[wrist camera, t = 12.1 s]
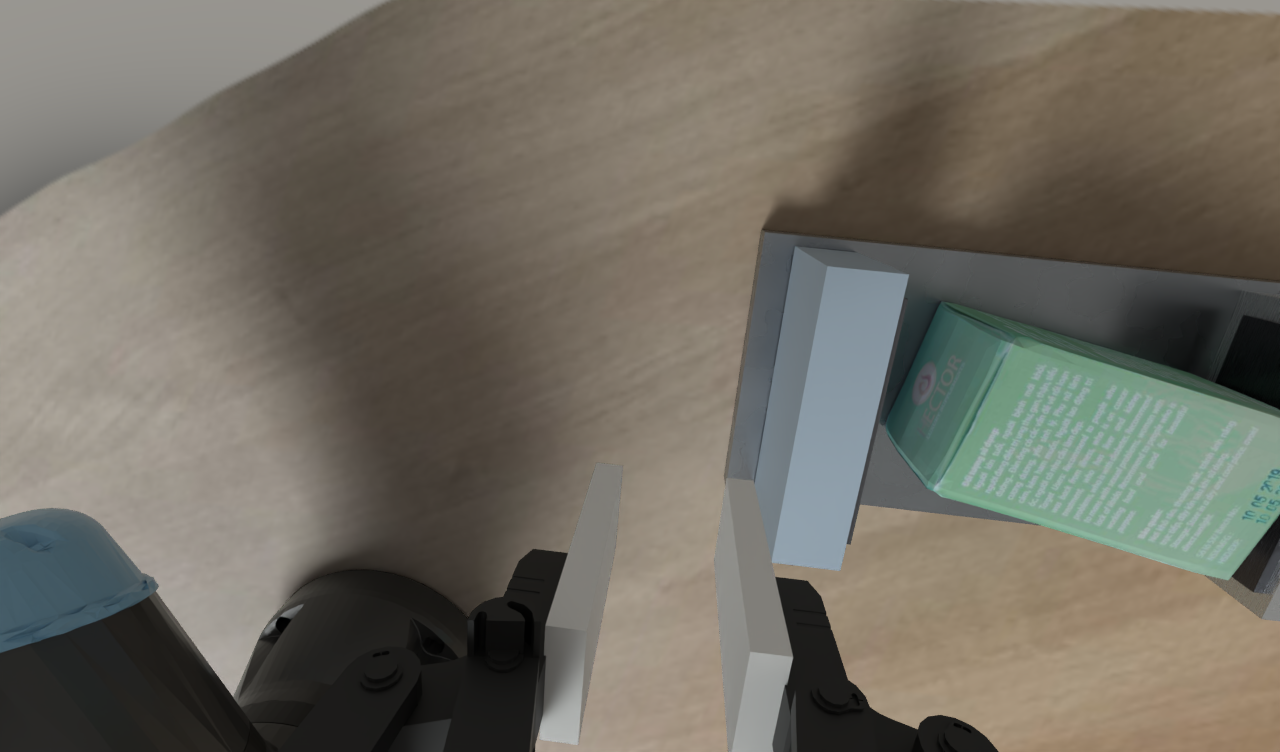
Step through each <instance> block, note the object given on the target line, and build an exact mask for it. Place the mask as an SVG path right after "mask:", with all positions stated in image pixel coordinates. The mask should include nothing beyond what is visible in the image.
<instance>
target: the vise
mask: <svg viewBox="0 0 1280 752" xmlns="http://www.w3.org/2000/svg"><path fill="white" fill-rule="evenodd" d="M795 246H798V247H808V248H818V249H828V250H838V251H848V252H858V253H860V254H862V255H865V256H867V257H869V258H872V259H874V260H876V261H879V262H881V263H883V264H886V265H888V266H890V267H893V268H895V269H897V270H900V271H902V272H904V273H907V274H909V277H908V282H907V286H906V290H905V294H904V297H905V298H907V299H908V302H907V306H906V310H905V315H904V319H903V323H902V327H901V332H900V336H899V340H898V344H897V349H896V353H895V357H894V361H893V366H892V370H891V374H890V378H889V383H888V387H887V391H886V395H885V400H884V404H883V408H882V412H881V417H880V421H879V425H878V429H877V434H876V438H875V442H874V446H873V451H872V455H871V459H870V463H869V468H868V472H867V476H866V480H865V485H864V489H863V493H862V497H861V502H860V504H862V505H870V506H879V507H887V508H896V509H905V510H913V511H922V512H930V513H939V514H948V515H956V516H965V517H973V518H982V519H990V520H999V521H1008V522H1016V523H1025V524H1033V525H1039V524H1036V523H1032V522H1029V521H1025V520H1022V519H1019V518H1015V517H1012V516H1008V515H1005V514H1002V513H998V512H995V511H991V510H988V509H984V508H981V507H977V506H974V505H970V504H967V503H963V502H960V501H956V500H952V499H948V498H944V497H941V496H940V495H938V494H937V493H936V492H934V491H932V490H929V489H927V488H926V487H925V486H924V485H923V483H922V482H921V481H920V480H919V478H918V477H917V476H916V475H915V474H914V472H913V471H912V470H911V468H910V467H909V466H908V465H907V463H906V462H905V461H904V459H903V458H902V457H901V456H900V454H899V453H898V452H897V450H896V448H895V447H894V445H893V444H892V442H891V440H890V439H889V437H888V435H887V432H886V422H887V419H888V416H889V414H890V412H891V410H892V408H893V406H894V403H895V401H896V399H897V397H898V395H899V393H900V391H901V389H902V387H903V384H904V382H905V380H906V378H907V376H908V373H909V371H910V369H911V367H912V365H913V362H914V360H915V358H916V356H917V353H918V351H919V349H920V347H921V344H922V342H923V340H924V338H925V335H926V333H927V331H928V329H929V327H930V324H931V322H932V320H933V318H934V316H935V313H936V311H937V309H938V307H939V305H940V303H941V301H943V302H948V303H954V304H958V305H961V306H965V307H968V308H972V309H975V310H978V311H982V312H985V313H989V314H992V315H995V316H999V317H1002V318H1006V319H1009V320H1013V321H1016V322H1020V323H1023V324H1027V325H1030V326H1034V327H1037V328H1041V329H1044V330H1047V331H1051V332H1054V333H1057V334H1061V335H1064V336H1067V337H1071V338H1074V339H1078V340H1081V341H1084V342H1088V343H1091V344H1094V345H1098V346H1101V347H1104V348H1108V349H1111V350H1115V351H1118V352H1121V353H1125V354H1128V355H1131V356H1135V357H1138V358H1141V359H1145V360H1148V361H1151V362H1155V363H1158V364H1161V365H1165V366H1168V367H1172V368H1175V369H1178V370H1182V371H1185V372H1188V373H1191V374H1194V375H1196V376H1199V377H1201V378H1204V379H1206V380H1209V381H1211V382H1214V383H1216V384H1219V385H1221V386H1224V387H1226V388H1229V389H1231V390H1234V391H1236V392H1239V393H1241V394H1244V395H1246V396H1248V397H1251V398H1253V399H1256V400H1258V401H1260V402H1263V403H1265V404H1268V405H1270V406H1272V407H1275V408H1277V409H1279V410H1280V281H1274V280H1264V279H1254V278H1244V277H1234V276H1224V275H1214V274H1204V273H1193V272H1183V271H1173V270H1163V269H1153V268H1143V267H1133V266H1123V265H1113V264H1103V263H1092V262H1082V261H1072V260H1062V259H1052V258H1042V257H1032V256H1022V255H1012V254H1002V253H991V252H981V251H971V250H961V249H951V248H941V247H931V246H921V245H911V244H901V243H890V242H880V241H870V240H860V239H850V238H840V237H830V236H820V235H810V234H799V233H789V232H779V231H769V230H761V235H760V242H759V248H758V255H757V261H756V268H755V275H754V281H753V288H752V294H751V301H750V308H749V314H748V321H747V328H746V334H745V341H744V347H743V354H742V361H741V367H740V374H739V380H738V387H737V394H736V400H735V407H734V413H733V420H732V427H731V433H730V440H729V446H728V453H727V460H726V466H725V473H724V480H725V485H726V478H734V479H743V480H751V481H754V485H755V479H756V473H757V467H758V461H759V455H760V449H761V444H762V438H763V432H764V426H765V420H766V414H767V408H768V402H769V397H770V391H771V385H772V379H773V373H774V367H775V361H776V355H777V349H778V344H779V338H780V332H781V326H782V320H783V314H784V308H785V302H786V297H787V291H788V285H789V279H790V273H791V267H792V261H793V255H794V250H795ZM1205 576H1206V577H1207V578H1208V579H1210V580H1211V581H1212V582H1214V583H1215V584H1216V585H1218V586H1219V587H1220V588H1222V589H1223V590H1224V591H1225V592H1227V593H1228V594H1229V595H1231V596H1232V597H1233V598H1235V599H1236V600H1237V601H1239V602H1240V603H1241V604H1242V605H1244V606H1245V607H1246V608H1248V609H1249V610H1250V611H1252V612H1253V613H1254V614H1256V615H1257V616H1258V617H1259V618H1261V619H1265V620H1274V621H1280V515H1279V516H1278V518H1277V519H1276V520H1275V521H1274V523H1273V524H1272V525H1271V527H1270V528H1269V529H1268V530H1267V532H1266V533H1265V534H1264V536H1263V537H1262V538H1261V539H1260V541H1259V542H1258V543H1257V544H1256V546H1255V547H1254V548H1253V550H1252V551H1251V552H1250V553H1249V555H1248V556H1247V557H1246V559H1245V560H1244V561H1243V562H1242V564H1241V565H1240V566H1239V568H1238V569H1237V570H1236V571H1235V573H1234V574H1233V575H1232V577H1231V578H1230V579H1229V580H1224V579H1220V578H1216V577H1211V576H1207V575H1205Z"/></svg>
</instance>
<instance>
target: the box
mask: <svg viewBox="0 0 1280 752" xmlns="http://www.w3.org/2000/svg"><path fill="white" fill-rule="evenodd" d="M886 432H887V435H888V437H889V439H890V440H891V442H892V444H893V445H894V447H895V448H896V450H897V452H898V453H899V454H900V456H901V457H902V458H903V459H904V461H905V462H906V463H907V465H908V466H909V467H910V468H911V470H912V471H913V472H914V474H915V475H916V476H917V477H918V478H919V480H920V481H921V482H922V483H923V485H924V486H925V487H926V488H927V489H929V490H932V491H934V492H936V493H937V494H938V495H940V496H941V497H944V498H948V499H952V500H956V501H960V502H963V503H967V504H970V505H974V506H977V507H981V508H984V509H988V510H991V511H995V512H998V513H1002V514H1005V515H1008V516H1012V517H1015V518H1019V519H1022V520H1025V521H1029V522H1032V523H1036V524H1039V525H1042V526H1045V527H1049V528H1052V529H1055V530H1058V531H1062V532H1065V533H1068V534H1071V535H1075V536H1078V537H1081V538H1085V539H1088V540H1091V541H1094V542H1098V543H1101V544H1104V545H1107V546H1111V547H1114V548H1117V549H1120V550H1124V551H1127V552H1130V553H1133V554H1136V555H1140V556H1143V557H1146V558H1149V559H1152V560H1155V561H1159V562H1162V563H1165V564H1168V565H1172V566H1175V567H1178V568H1182V569H1185V570H1188V571H1192V572H1195V573H1199V574H1203V575H1207V576H1211V577H1216V578H1220V579H1224V580H1229V579H1230V578H1231V577H1232V575H1233V574H1234V573H1235V571H1236V570H1237V569H1238V568H1239V566H1240V565H1241V564H1242V562H1243V561H1244V560H1245V559H1246V557H1247V556H1248V555H1249V553H1250V552H1251V551H1252V550H1253V548H1254V547H1255V546H1256V544H1257V543H1258V542H1259V541H1260V539H1261V538H1262V537H1263V536H1264V534H1265V533H1266V532H1267V530H1268V529H1269V528H1270V527H1271V525H1272V524H1273V523H1274V521H1275V520H1276V519H1277V518H1278V516H1279V515H1280V410H1279V409H1277V408H1275V407H1272V406H1270V405H1268V404H1265V403H1263V402H1260V401H1258V400H1256V399H1253V398H1251V397H1248V396H1246V395H1244V394H1241V393H1239V392H1236V391H1234V390H1231V389H1229V388H1226V387H1224V386H1221V385H1219V384H1216V383H1214V382H1211V381H1209V380H1206V379H1204V378H1201V377H1199V376H1196V375H1194V374H1191V373H1188V372H1185V371H1182V370H1178V369H1175V368H1172V367H1168V366H1165V365H1161V364H1158V363H1155V362H1151V361H1148V360H1145V359H1141V358H1138V357H1135V356H1131V355H1128V354H1125V353H1121V352H1118V351H1115V350H1111V349H1108V348H1104V347H1101V346H1098V345H1094V344H1091V343H1088V342H1084V341H1081V340H1078V339H1074V338H1071V337H1067V336H1064V335H1061V334H1057V333H1054V332H1051V331H1047V330H1044V329H1041V328H1037V327H1034V326H1030V325H1027V324H1023V323H1020V322H1016V321H1013V320H1009V319H1006V318H1002V317H999V316H995V315H992V314H989V313H985V312H982V311H978V310H975V309H972V308H968V307H965V306H961V305H958V304H954V303H948V302H943V301H941V303H940V305H939V307H938V309H937V311H936V313H935V316H934V318H933V320H932V322H931V324H930V327H929V329H928V331H927V333H926V335H925V338H924V340H923V342H922V344H921V347H920V349H919V351H918V353H917V356H916V358H915V360H914V362H913V365H912V367H911V369H910V371H909V373H908V376H907V378H906V380H905V382H904V384H903V387H902V389H901V391H900V393H899V395H898V397H897V399H896V401H895V403H894V406H893V408H892V410H891V412H890V414H889V416H888V419H887V422H886Z"/></svg>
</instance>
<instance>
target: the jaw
mask: <svg viewBox="0 0 1280 752" xmlns="http://www.w3.org/2000/svg"><path fill="white" fill-rule="evenodd" d="M908 277H909V274H907V273H904V272H902V271H900V270H897V269H895V268H893V267H890V266H888V265H886V264H883V263H881V262H879V261H876V260H874V259H872V258H869V257H867V256H865V255H862V254H860V253H858V252H848V251H838V250H828V249H818V248H808V247H798V246H795V250H794V255H793V261H792V267H791V273H790V279H789V285H788V291H787V297H786V302H785V308H784V314H783V320H782V326H781V332H780V338H779V344H778V349H777V355H776V361H775V367H774V373H773V379H772V385H771V391H770V397H769V402H768V408H767V414H766V420H765V426H764V432H763V438H762V444H761V449H760V455H759V461H758V467H757V473H756V479H755V489H756V494H757V498H758V503H759V507H760V511H761V516H762V520H763V525H764V529H765V534H766V538H767V543H768V547H769V552H770V556H771V561H772V563H780V564H788V565H796V566H805V567H813V568H821V569H830V570H838V571H840V569H841V565H842V561H843V556H844V552H845V548H846V544H851V540H852V536H853V531H854V527H855V523H856V519H857V514H858V510H859V506H860V502H861V497H862V493H863V489H864V485H865V480H866V476H867V472H868V468H869V463H870V459H871V455H872V451H873V446H874V442H875V438H876V434H877V429H878V425H879V421H880V417H881V412H882V408H883V404H884V400H885V395H886V391H887V387H888V383H889V378H890V374H891V370H892V366H893V361H894V357H895V353H896V349H897V344H898V340H899V336H900V332H901V327H902V323H903V319H904V315H905V310H906V306H907V302H908V299H907V298H905V297H904V294H905V290H906V286H907V282H908Z"/></svg>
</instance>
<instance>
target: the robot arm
mask: <svg viewBox="0 0 1280 752" xmlns="http://www.w3.org/2000/svg"><path fill="white" fill-rule="evenodd" d="M622 472H623V466H622V465H613V464H605V463H596V466H595V469H594V472H593V476H592V479H591V482H590V485H589V488H588V491H587V495H586V498H585V501H584V504H583V507H582V511H581V514H580V517H579V520H578V523H577V526H576V530H575V533H574V536H573V539H572V542H571V545H570V549H569V552H568V553H562V552H554V551H546V550H538V549H533V550H531V551H530V552H529V553H528V554H527V555H525V556H524V557H523V558H522V559H521V560H520V561H519V562H518V564H517V567H516V569H515V571H514V574H513V576H512V579H511V580H510V583H509V585H508V587H507V591H506V592H505V594H504V596H503V597H499V598H494V599H491V600H488V601H486V602H483V603H482V604H480V605H479V606H478V607H476V608H475V609H474V610H473V611H472V612H471V614H470V616H469V618H468V619H467V618H466V617H465V616H464V615H463V613H462V612H461V611H460V610H458V609H457V608H456V607H455V606H454V605H453V604H452V603H451V602H449V601H448V600H447V599H445V598H444V597H443V596H441V595H440V594H438V593H437V592H435V591H433V590H431V589H430V588H428V587H426V586H424V585H422V584H420V583H418V582H415V581H413V580H410V579H408V578H405V577H402V576H398V575H395V574H390V573H386V572H379V571H370V570H351V571H342V572H337V573H333V574H329V575H326V576H323V577H320V578H318V579H316V580H314V581H312V582H310V583H308V584H306V585H305V586H303V587H302V588H301V589H299V590H298V591H297V592H296V593H295V594H294V595H293V596H292V597H291V598H290V599H289V600H288V601H287V602H286V603H285V604H284V605H283V606H282V607H281V609H280V610H279V611H278V612H277V613H276V614H275V615H274V616H273V617H272V618H271V620H270V621H269V622H268V624H267V625H266V627H265V628H264V630H263V631H262V633H261V635H260V637H259V640H258V642H257V644H256V646H255V648H254V651H253V653H252V655H251V658H250V660H249V662H248V664H247V667H246V669H245V671H244V674H243V676H242V678H241V680H240V683H239V685H238V687H237V690H236V692H235V694H234V696H232V695H231V694H230V692H229V691H228V690H227V688H226V687H225V685H224V684H223V683H222V681H221V680H220V679H219V677H218V676H217V675H216V673H215V672H214V670H213V669H212V668H211V666H210V665H209V664H208V662H207V661H206V659H205V658H204V657H203V655H202V654H201V653H200V651H199V650H198V649H197V647H196V646H195V644H194V643H193V642H192V640H191V639H190V638H189V636H188V635H187V633H186V632H185V631H184V629H183V628H182V627H181V625H180V624H179V622H178V621H177V620H176V618H175V617H174V616H173V614H172V613H171V612H170V610H169V609H168V607H167V606H166V605H165V603H164V602H163V601H162V599H161V598H160V596H159V595H158V594H157V592H156V590H157V589H158V587H159V585H158V584H157V583H156V581H155V580H154V578H153V577H150V576H148V575H147V574H144V573H141V571H140V570H139V569H138V568H137V567H136V565H135V564H134V563H133V562H132V561H131V559H130V558H129V557H128V556H127V555H126V554H125V552H124V551H123V550H122V549H121V548H120V546H119V545H118V544H117V543H116V542H115V540H114V539H113V538H112V537H111V536H110V534H109V533H108V532H107V531H106V530H105V529H104V527H103V526H102V525H101V524H100V523H98V522H97V521H96V520H94V519H93V518H91V517H90V516H88V515H86V514H83V513H80V512H77V511H73V510H68V509H57V508H47V509H37V510H31V511H26V512H22V513H18V514H15V515H11V516H8V517H4V518H1V519H0V752H535V743H536V740H537V736H538V732H539V728H540V740H546V741H553V742H561V743H568V744H575V745H578V743H579V738H580V732H581V727H582V722H583V716H584V711H585V706H586V701H587V695H588V690H589V685H590V680H591V674H592V669H593V664H594V659H595V653H596V648H597V643H598V638H599V632H600V627H601V622H602V617H603V611H604V606H605V601H606V596H607V590H608V585H609V580H610V575H611V569H612V564H613V559H614V554H615V548H616V538H617V527H618V516H619V505H620V494H621V483H622ZM714 566H715V580H716V593H717V607H718V620H719V634H720V647H721V661H722V674H723V688H724V701H725V715H726V728H727V742H728V752H998V750H997V749H996V748H995V747H994V746H993V744H992V743H991V742H990V741H989V740H988V739H987V737H986V736H984V735H983V734H982V733H980V732H979V731H978V730H976V729H975V728H974V727H972V726H971V725H969V724H967V723H965V722H963V721H960V720H958V719H956V718H952V717H947V716H943V715H937V716H929V717H927V718H926V719H924V720H923V721H922V722H921V723H920V725H919V728H918V729H915V728H913V727H910V726H907V725H905V724H902V723H900V722H897V721H895V720H892V719H890V718H888V717H886V716H883V715H881V714H879V713H878V712H876V711H875V710H873V709H872V708H870V707H869V704H868V702H867V699H866V697H865V695H864V694H863V693H862V692H861V691H860V690H859V689H858V687H857V686H856V685H854V684H853V683H851V682H850V681H848V679H847V675H846V672H845V669H844V666H843V663H842V660H841V657H840V654H839V651H838V648H837V645H836V641H835V638H834V635H833V632H832V630H831V626H830V623H829V620H828V617H827V616H826V611H825V607H824V604H823V601H822V598H821V596H820V595H819V594H818V593H817V591H816V590H815V589H814V588H813V587H812V586H811V584H810V583H809V582H808V581H804V580H796V579H788V578H779V577H775V574H774V569H773V565H772V561H771V556H770V552H769V547H768V543H767V538H766V534H765V529H764V525H763V520H762V516H761V511H760V507H759V503H758V498H757V494H756V489H755V485H754V481H751V480H743V479H734V478H726V485H725V492H724V498H723V505H722V511H721V518H720V524H719V531H718V537H717V544H716V550H715V557H714Z"/></svg>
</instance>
